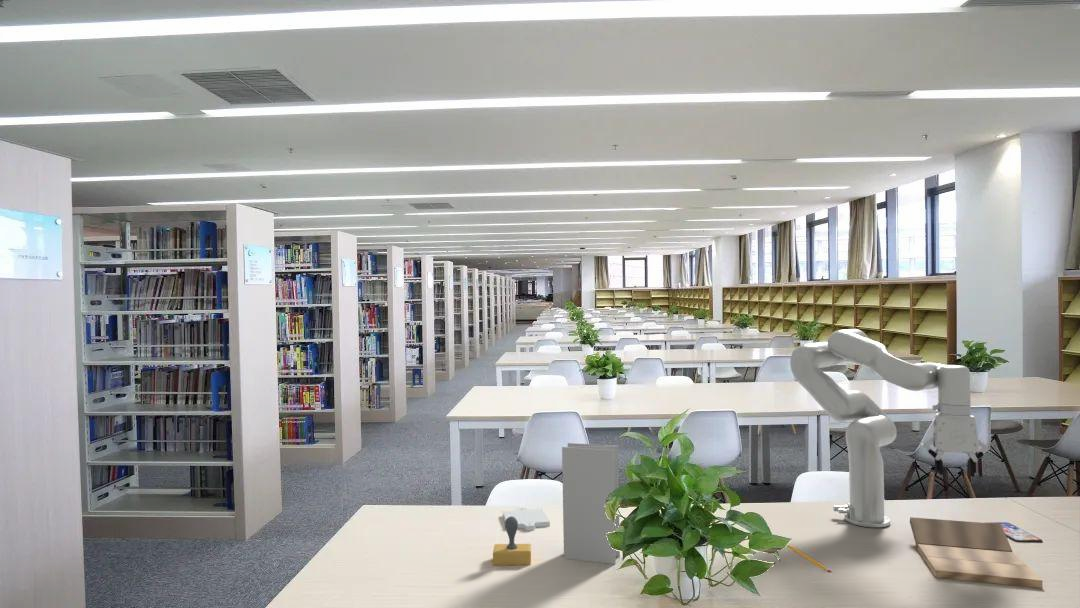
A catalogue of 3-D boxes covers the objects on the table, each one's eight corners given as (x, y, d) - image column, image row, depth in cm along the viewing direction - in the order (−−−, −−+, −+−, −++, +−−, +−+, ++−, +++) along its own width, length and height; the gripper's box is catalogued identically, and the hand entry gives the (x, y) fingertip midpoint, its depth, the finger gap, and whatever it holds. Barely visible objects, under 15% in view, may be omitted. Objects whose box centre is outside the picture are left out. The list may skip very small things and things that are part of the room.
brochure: (620, 556, 176) (618, 445, 175) (615, 564, 170) (613, 450, 170) (569, 550, 180) (567, 442, 180) (563, 558, 175) (562, 447, 175)
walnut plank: (916, 547, 177) (917, 542, 176) (909, 521, 185) (910, 517, 184) (1011, 555, 170) (1012, 551, 170) (1000, 528, 178) (1001, 524, 177)
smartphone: (1015, 540, 181) (982, 522, 196) (1015, 543, 181) (982, 525, 196) (1043, 540, 180) (1008, 522, 195) (1043, 543, 180) (1008, 525, 195)
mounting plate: (501, 514, 213) (501, 509, 213) (540, 511, 215) (540, 506, 215) (509, 533, 195) (509, 527, 195) (551, 530, 198) (551, 524, 198)
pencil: (828, 573, 163) (828, 570, 163) (784, 545, 182) (784, 543, 182) (831, 573, 163) (831, 570, 163) (787, 545, 182) (786, 543, 182)
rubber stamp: (492, 566, 171) (492, 520, 171) (494, 557, 177) (493, 513, 177) (530, 565, 171) (529, 520, 171) (531, 556, 177) (530, 512, 177)
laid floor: (935, 577, 159) (935, 570, 159) (917, 550, 176) (917, 544, 176) (1042, 588, 152) (1042, 580, 152) (1013, 559, 169) (1012, 552, 169)
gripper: (922, 411, 178) (923, 476, 178) (995, 413, 173) (996, 480, 173) (915, 406, 185) (916, 469, 186) (986, 409, 180) (987, 473, 180)
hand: (955, 473), depth 179 cm, fingers open, 6 cm apart
